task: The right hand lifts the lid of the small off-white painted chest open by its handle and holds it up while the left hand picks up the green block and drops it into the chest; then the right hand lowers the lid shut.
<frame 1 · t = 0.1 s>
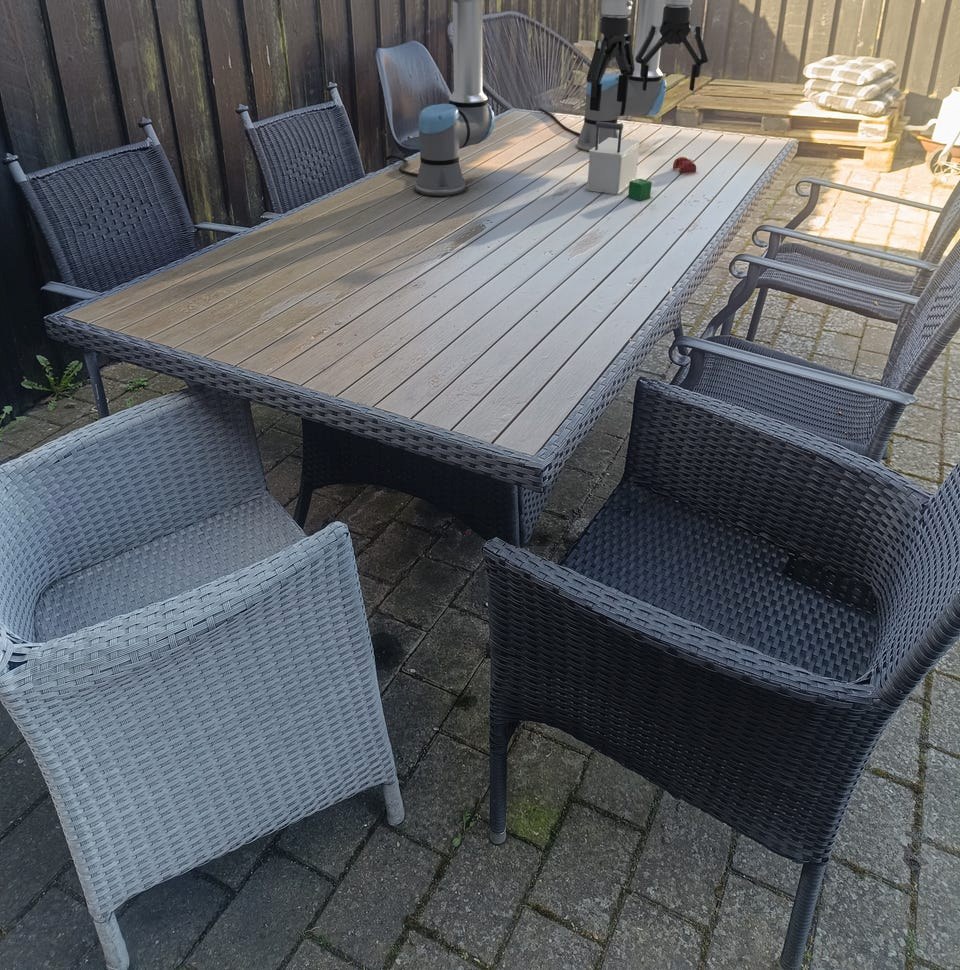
left hand: (608, 106, 226), 28 cm above the table, tool pointing down, fingers open, 13 cm apart
right hand: (667, 89, 243), 28 cm above the table, tool pointing down, fingers open, 13 cm apart
dark red rounded lump: (684, 171, 275), on the table
lid: (616, 133, 253), point 15 cm above the table, hinge at -0.1°
block: (639, 197, 252), on the table
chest: (611, 185, 263), on the table
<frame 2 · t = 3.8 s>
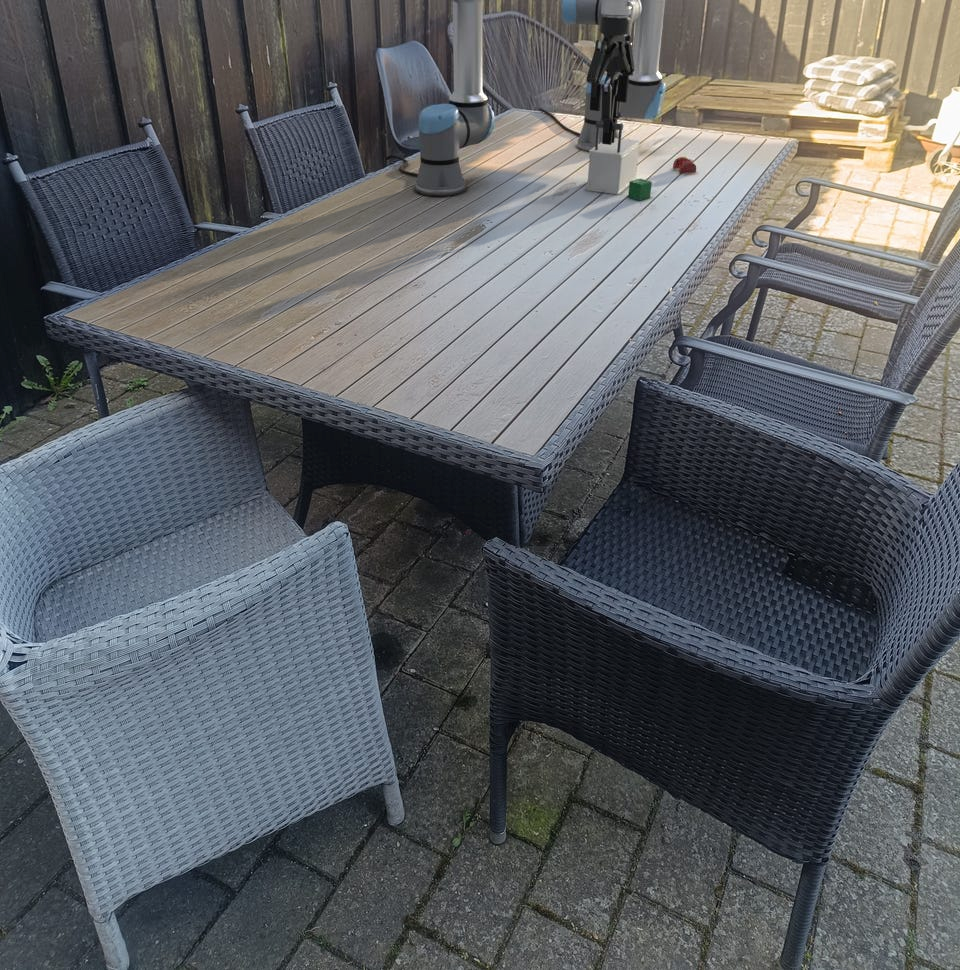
left hand: (608, 106, 226), 28 cm above the table, tool pointing down, fingers open, 13 cm apart
right hand: (608, 143, 249), 14 cm above the table, tool pointing down, fingers closed on lid, 2 cm apart
lid: (616, 133, 253), point 15 cm above the table, hinge at -0.1°, touching right hand
everything else where it was.
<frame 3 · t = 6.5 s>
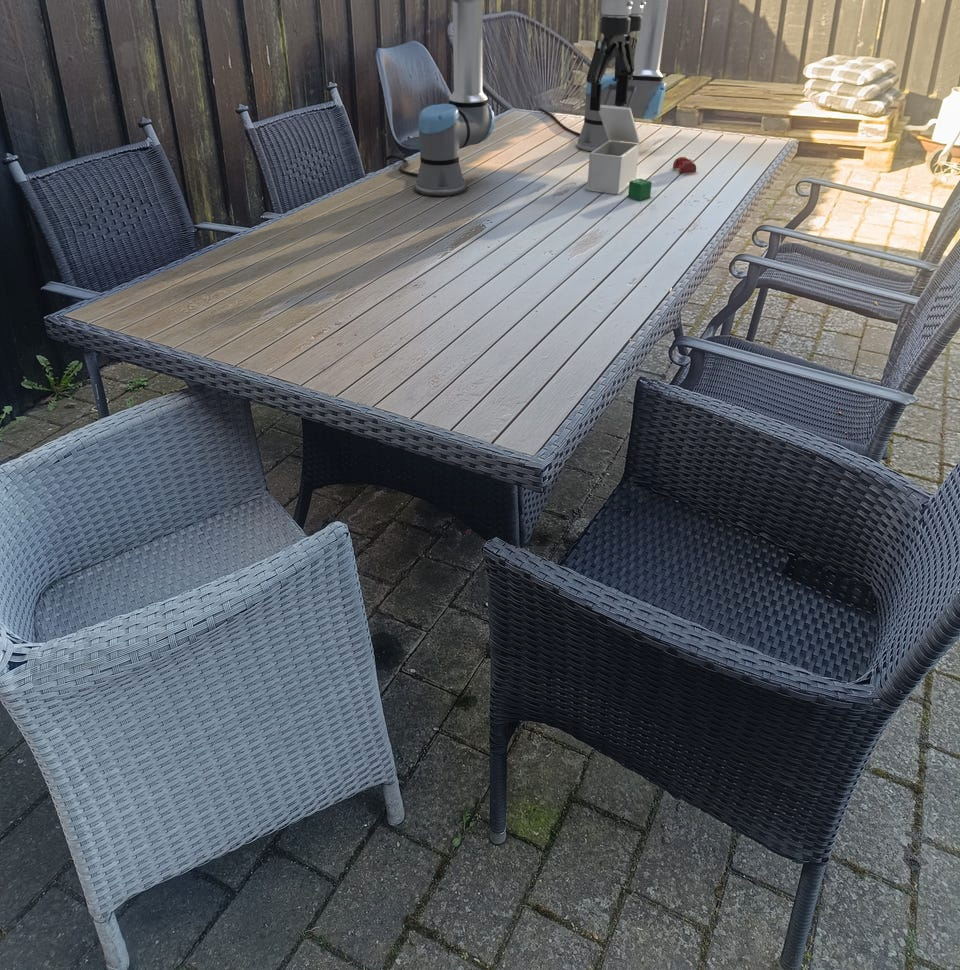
left hand: (608, 106, 226), 28 cm above the table, tool pointing down, fingers open, 13 cm apart
right hand: (620, 104, 250), 23 cm above the table, tool pointing down, fingers closed on lid, 2 cm apart
lid: (622, 112, 254), point 20 cm above the table, hinge at 41.8°, touching right hand
everything else where it was.
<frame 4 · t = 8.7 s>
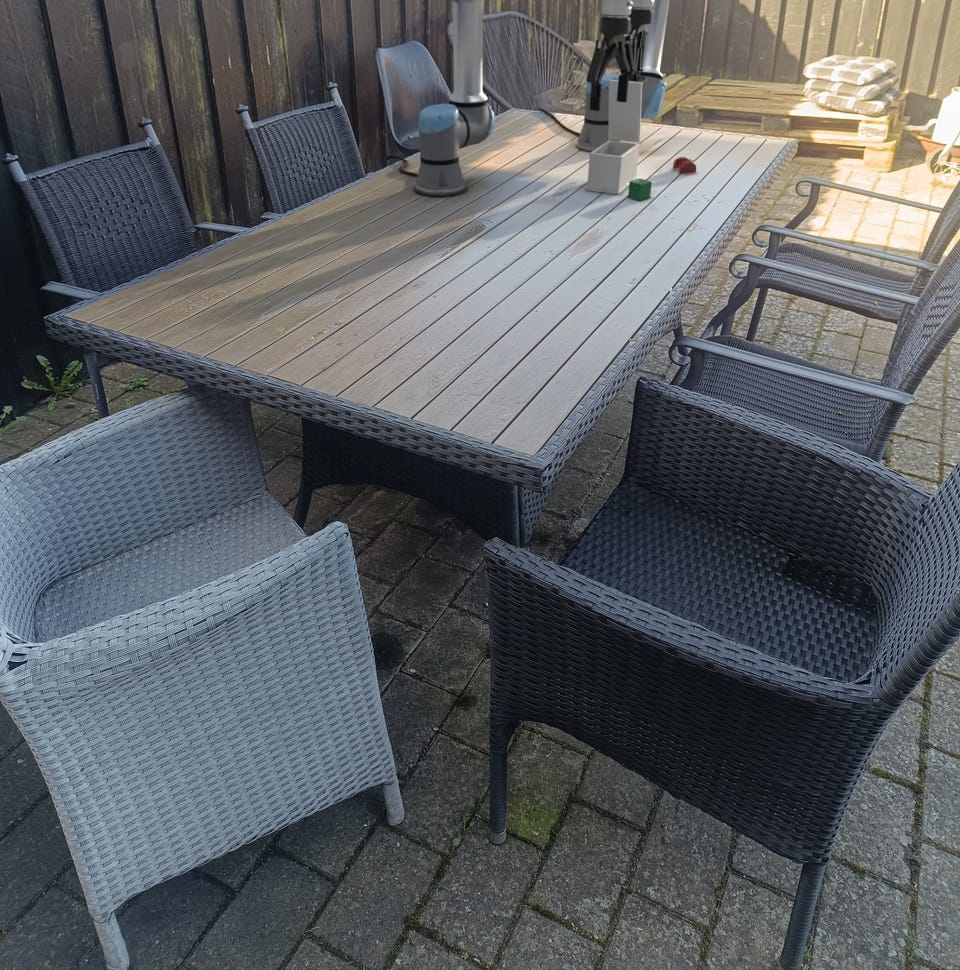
left hand: (608, 106, 226), 28 cm above the table, tool pointing down, fingers open, 13 cm apart
right hand: (631, 95, 258), 24 cm above the table, tool pointing down, fingers closed on lid, 2 cm apart
lid: (629, 105, 258), point 21 cm above the table, hinge at 76.3°, touching right hand
everything else where it was.
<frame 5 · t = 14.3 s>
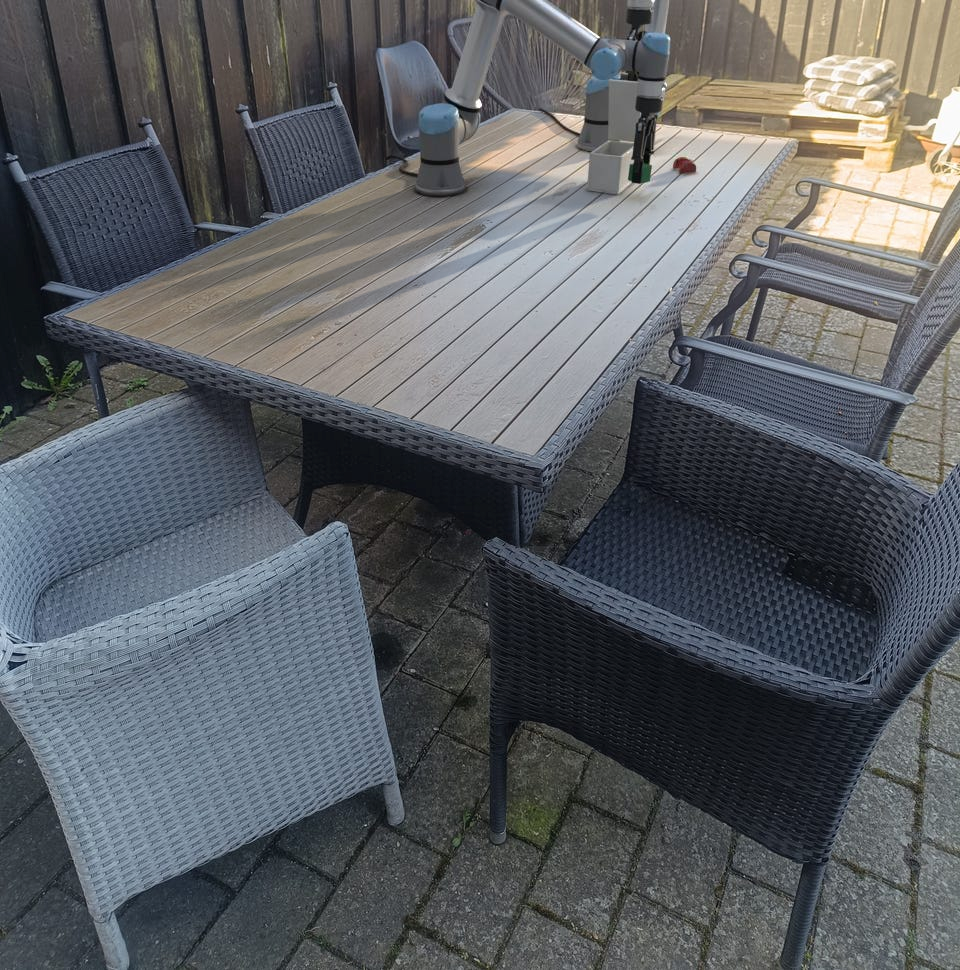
left hand: (639, 179, 249), 5 cm above the table, tool pointing down, fingers closed on block, 6 cm apart
right hand: (631, 95, 258), 24 cm above the table, tool pointing down, fingers closed on lid, 2 cm apart
lid: (628, 105, 258), point 21 cm above the table, hinge at 76.8°, touching right hand
block: (638, 180, 250), point 5 cm above the table, touching left hand
everything else where it was.
when the left hand's fingers open (18 cm above the table, at t = 17.3 s): block drops 17 cm, resting on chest.
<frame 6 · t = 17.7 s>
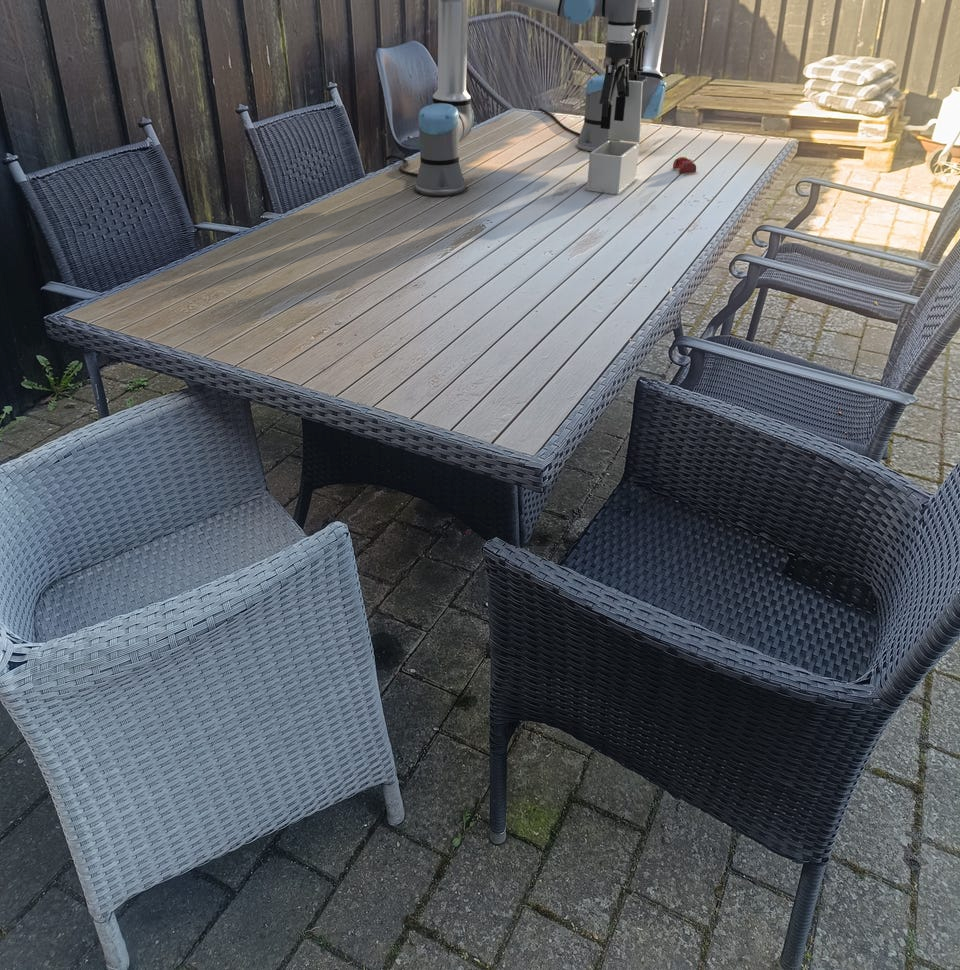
left hand: (612, 124, 248), 19 cm above the table, tool pointing down, fingers open, 11 cm apart
right hand: (632, 95, 258), 24 cm above the table, tool pointing down, fingers closed on lid, 2 cm apart
lid: (629, 105, 258), point 21 cm above the table, hinge at 78.0°, touching left hand, right hand
block: (606, 185, 259), point 1 cm above the table, touching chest
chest: (611, 184, 263), on the table, touching block
everything else where it was.
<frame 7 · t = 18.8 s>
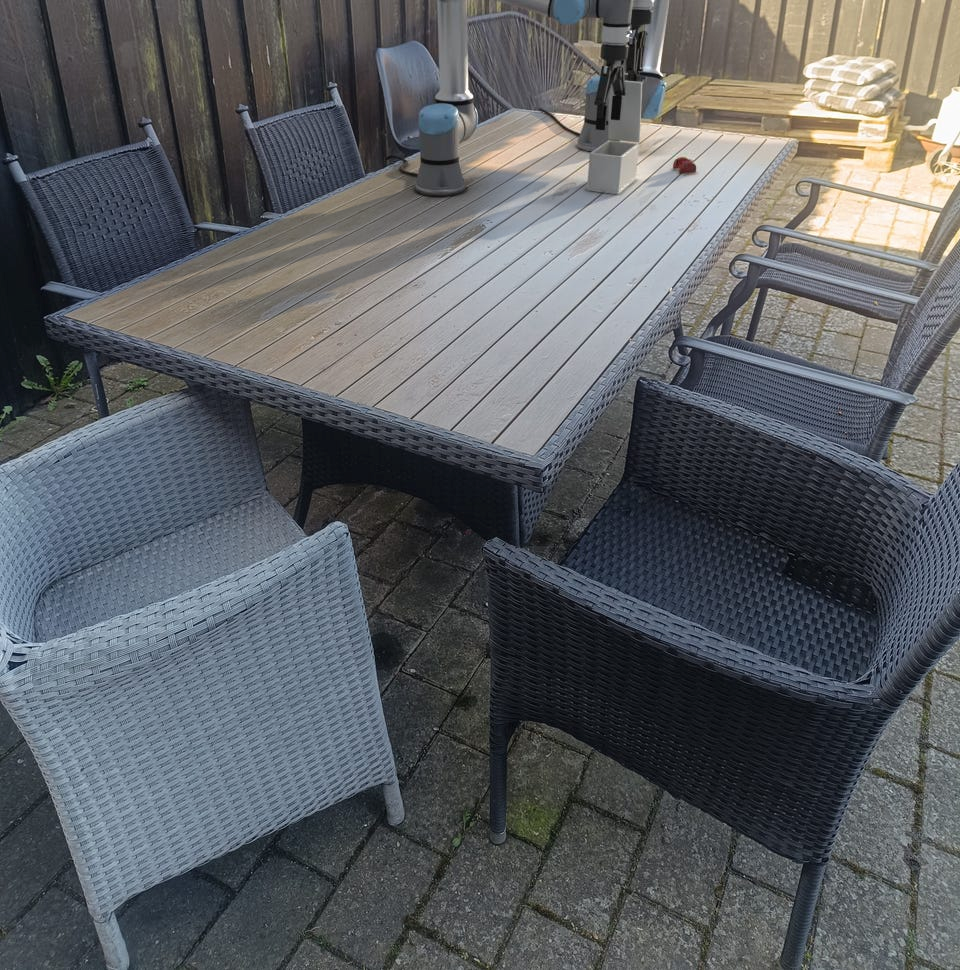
left hand: (607, 124, 245), 19 cm above the table, tool pointing down, fingers open, 13 cm apart
right hand: (631, 95, 258), 24 cm above the table, tool pointing down, fingers closed on lid, 2 cm apart
lid: (628, 105, 258), point 21 cm above the table, hinge at 76.8°, touching right hand
everything else where it was.
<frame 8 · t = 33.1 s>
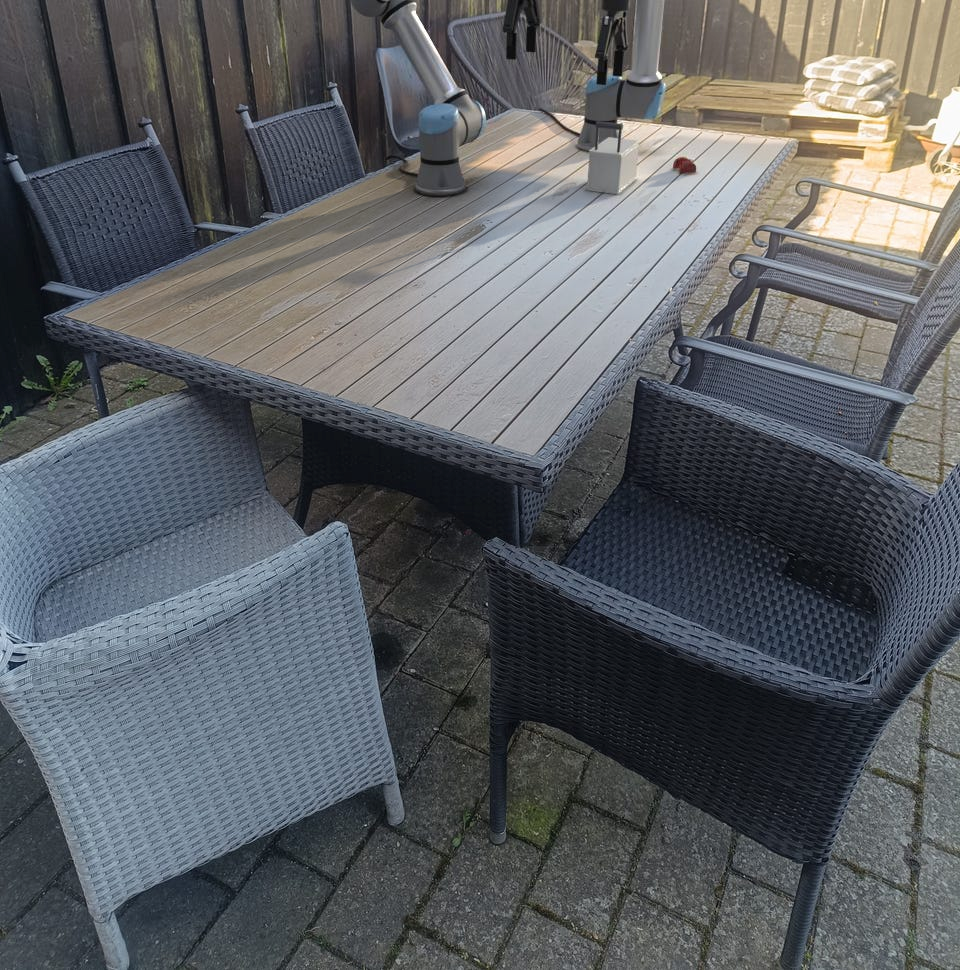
left hand: (521, 55, 239), 37 cm above the table, tool pointing down, fingers open, 13 cm apart
right hand: (609, 80, 236), 32 cm above the table, tool pointing down, fingers open, 13 cm apart
lid: (615, 133, 253), point 15 cm above the table, hinge at -0.1°
everything else where it was.
at the end: block inside the target area in the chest (4.1 cm from its centre), point 0.8 cm above the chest's base; lid at +0° (first picture: +0°); the left hand is holding nothing; the right hand is holding nothing; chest tilted 0°; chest moved 0.1 cm from its start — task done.
